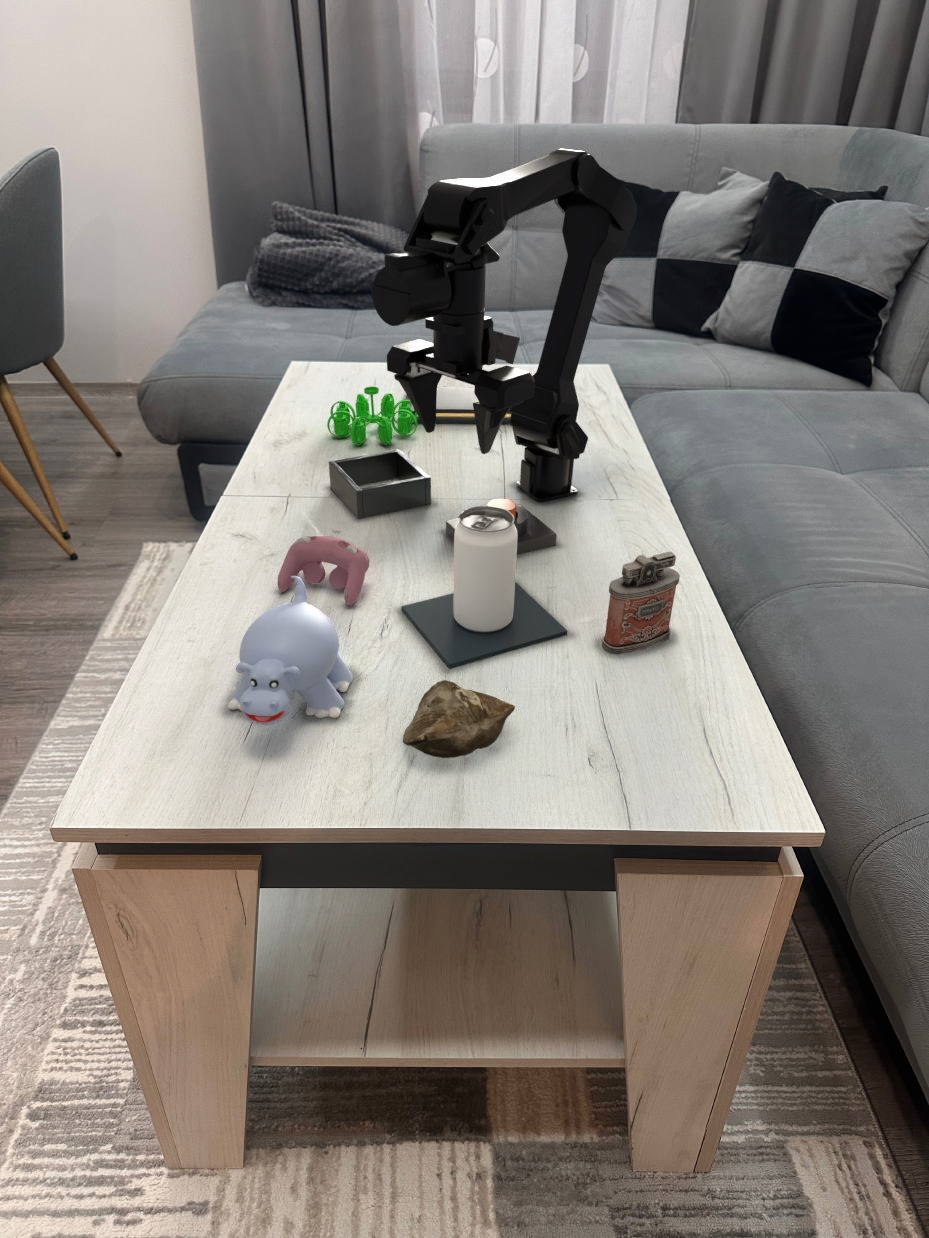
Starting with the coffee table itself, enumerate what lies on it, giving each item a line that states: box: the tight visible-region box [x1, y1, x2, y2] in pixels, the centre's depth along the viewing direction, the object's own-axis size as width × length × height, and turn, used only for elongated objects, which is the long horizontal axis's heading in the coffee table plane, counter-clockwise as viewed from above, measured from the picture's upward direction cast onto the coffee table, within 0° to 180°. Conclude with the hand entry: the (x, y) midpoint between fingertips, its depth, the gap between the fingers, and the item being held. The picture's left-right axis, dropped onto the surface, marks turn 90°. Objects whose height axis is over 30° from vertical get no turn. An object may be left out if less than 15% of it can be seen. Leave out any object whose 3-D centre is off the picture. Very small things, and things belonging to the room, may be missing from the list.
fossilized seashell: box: [402, 679, 516, 759], centre depth 78 cm, size 8×7×10 cm
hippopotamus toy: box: [227, 575, 354, 726], centre depth 81 cm, size 11×15×10 cm
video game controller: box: [277, 535, 370, 606], centre depth 99 cm, size 10×5×7 cm, turn 71°
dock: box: [328, 449, 432, 520], centre depth 120 cm, size 11×11×4 cm
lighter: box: [601, 550, 681, 656], centre depth 90 cm, size 8×3×10 cm, turn 118°
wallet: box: [405, 386, 511, 425], centre depth 150 cm, size 20×2×15 cm
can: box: [453, 505, 518, 633], centre depth 92 cm, size 6×6×12 cm
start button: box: [486, 498, 517, 520], centre depth 109 cm, size 4×4×2 cm
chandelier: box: [326, 386, 418, 446], centre depth 139 cm, size 15×15×7 cm
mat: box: [401, 581, 568, 670], centre depth 95 cm, size 14×12×1 cm
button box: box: [445, 504, 558, 556], centre depth 110 cm, size 11×9×4 cm
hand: (457, 442), depth 106 cm, fingers open, 9 cm apart
